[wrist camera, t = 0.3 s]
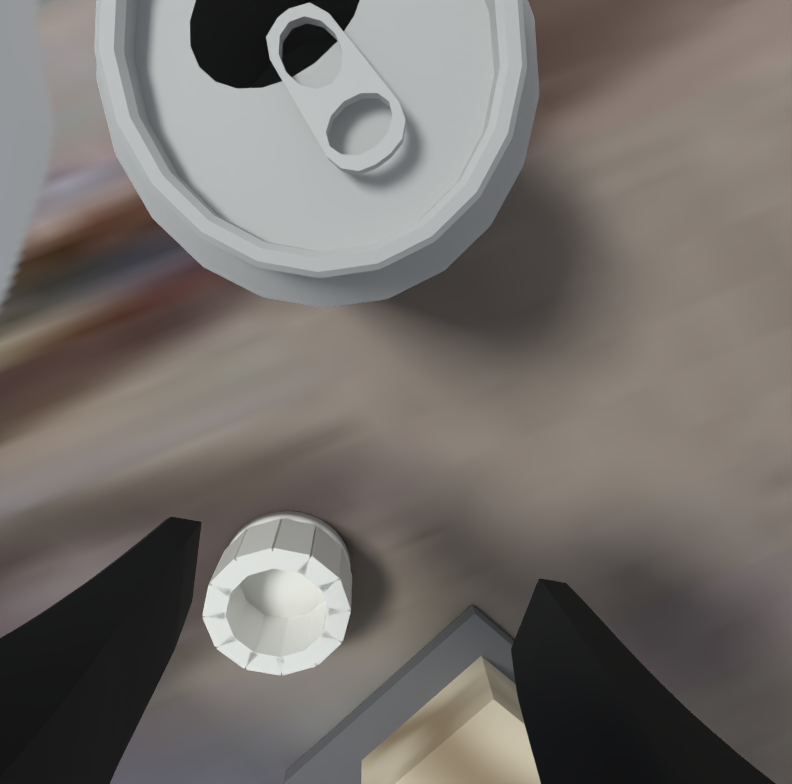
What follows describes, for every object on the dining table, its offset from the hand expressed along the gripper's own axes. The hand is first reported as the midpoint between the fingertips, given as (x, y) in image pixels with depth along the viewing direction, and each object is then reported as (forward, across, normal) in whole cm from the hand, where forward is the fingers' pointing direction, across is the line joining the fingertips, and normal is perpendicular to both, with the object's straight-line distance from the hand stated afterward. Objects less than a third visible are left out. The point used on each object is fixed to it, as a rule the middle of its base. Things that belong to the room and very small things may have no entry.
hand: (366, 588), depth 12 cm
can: (+12, +3, -8) cm, 14 cm away
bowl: (+10, +2, +8) cm, 13 cm away
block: (+8, -7, +15) cm, 18 cm away
